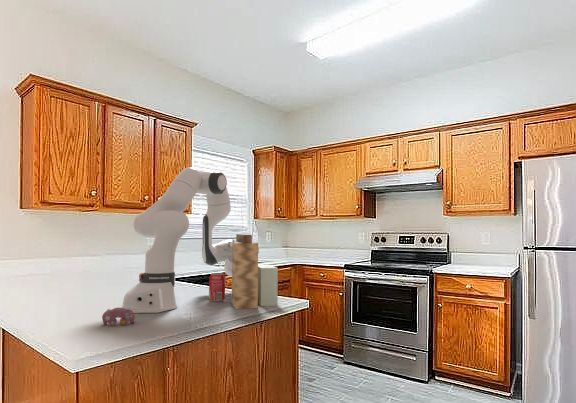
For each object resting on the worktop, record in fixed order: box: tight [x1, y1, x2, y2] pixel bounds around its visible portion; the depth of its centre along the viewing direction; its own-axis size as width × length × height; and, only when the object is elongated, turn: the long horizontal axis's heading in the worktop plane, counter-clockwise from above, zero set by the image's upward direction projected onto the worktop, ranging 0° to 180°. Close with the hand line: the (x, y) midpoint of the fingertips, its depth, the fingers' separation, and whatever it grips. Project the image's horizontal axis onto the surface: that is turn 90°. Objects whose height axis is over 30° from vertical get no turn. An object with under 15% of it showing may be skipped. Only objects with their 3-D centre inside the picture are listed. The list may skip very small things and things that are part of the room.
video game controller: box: [101, 307, 136, 327], centre depth 129 cm, size 10×5×7 cm, turn 107°
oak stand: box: [231, 241, 259, 310], centre depth 165 cm, size 9×12×26 cm
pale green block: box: [258, 264, 279, 307], centre depth 172 cm, size 7×16×16 cm, turn 15°
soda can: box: [208, 272, 226, 303], centre depth 175 cm, size 7×7×12 cm
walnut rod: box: [235, 233, 253, 243], centre depth 170 cm, size 3×22×3 cm, turn 15°
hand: (239, 243), depth 181 cm, fingers open, 8 cm apart
